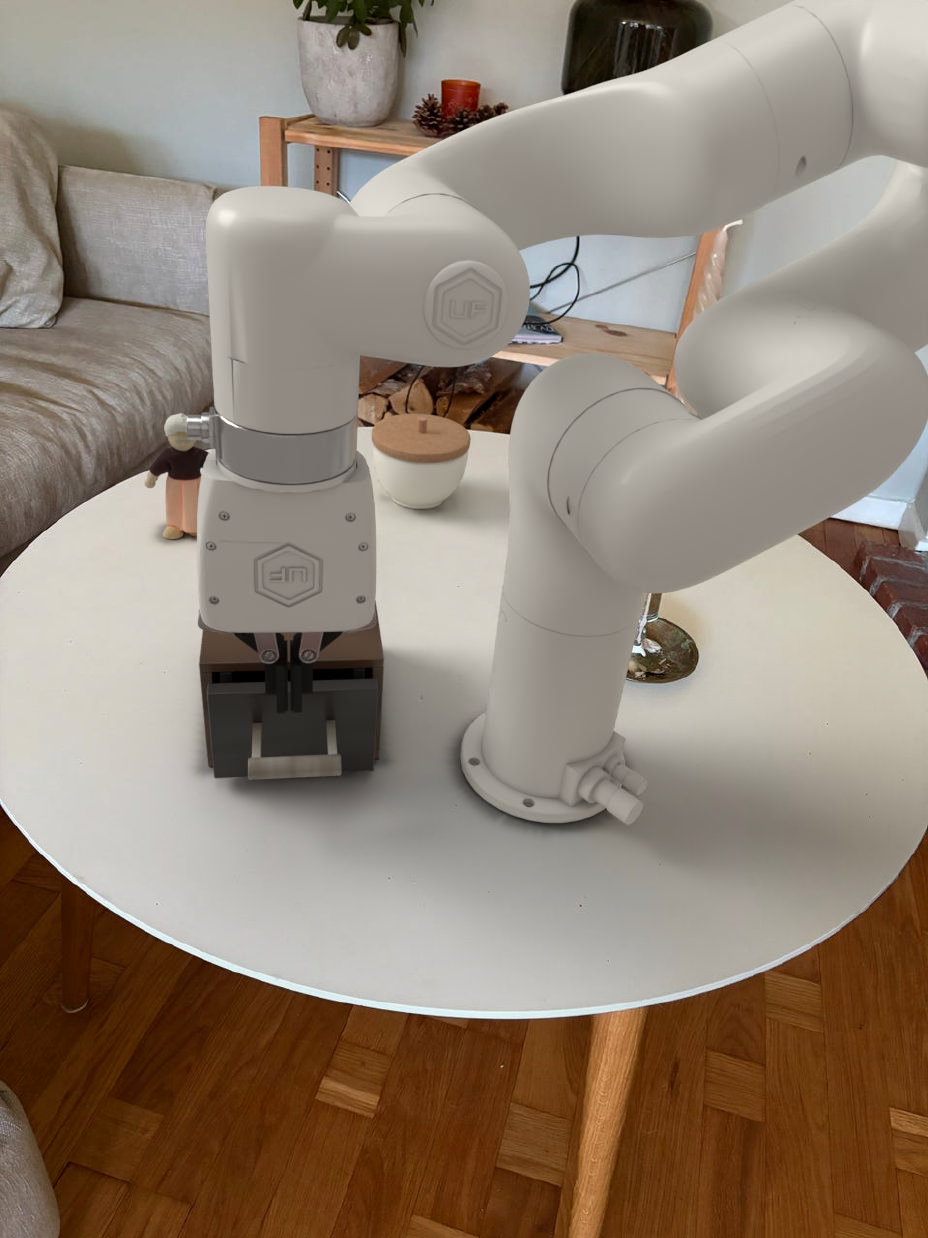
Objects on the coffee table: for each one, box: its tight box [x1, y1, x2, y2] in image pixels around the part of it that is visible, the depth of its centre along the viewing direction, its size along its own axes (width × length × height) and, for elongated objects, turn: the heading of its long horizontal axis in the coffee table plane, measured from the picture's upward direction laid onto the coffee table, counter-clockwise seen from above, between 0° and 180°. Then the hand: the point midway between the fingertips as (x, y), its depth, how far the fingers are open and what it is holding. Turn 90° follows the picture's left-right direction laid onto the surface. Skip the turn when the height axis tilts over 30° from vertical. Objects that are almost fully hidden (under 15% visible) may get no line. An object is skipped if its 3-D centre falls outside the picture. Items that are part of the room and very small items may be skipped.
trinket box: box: [371, 413, 472, 510], centre depth 105 cm, size 11×11×9 cm
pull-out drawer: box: [207, 668, 378, 781], centre depth 70 cm, size 18×11×8 cm, turn 9°
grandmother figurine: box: [144, 412, 210, 540], centre depth 94 cm, size 8×4×13 cm, turn 122°
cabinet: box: [198, 598, 385, 767], centre depth 75 cm, size 15×13×10 cm
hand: (289, 699), depth 62 cm, fingers closed
